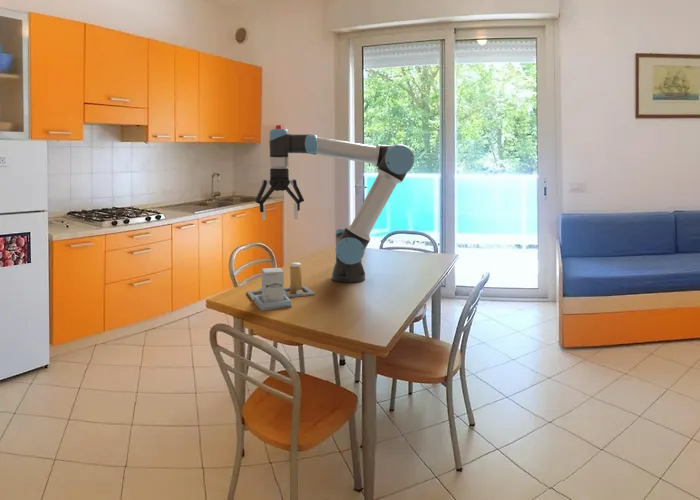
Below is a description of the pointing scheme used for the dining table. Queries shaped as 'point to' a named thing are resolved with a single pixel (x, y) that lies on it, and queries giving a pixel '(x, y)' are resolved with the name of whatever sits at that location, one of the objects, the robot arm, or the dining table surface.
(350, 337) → the dining table surface
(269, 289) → the supplement box
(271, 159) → the robot arm
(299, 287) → the amber bottle
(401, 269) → the dining table surface
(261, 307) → the tray
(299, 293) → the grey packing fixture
